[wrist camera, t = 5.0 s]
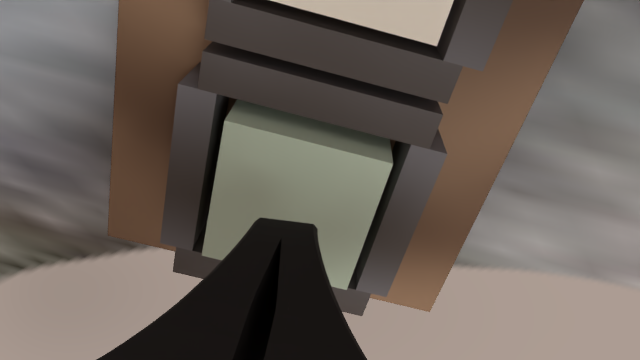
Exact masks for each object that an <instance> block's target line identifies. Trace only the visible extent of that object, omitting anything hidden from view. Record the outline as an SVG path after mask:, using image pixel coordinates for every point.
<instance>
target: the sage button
mask: <svg viewBox="0 0 640 360" xmlns="http://www.w3.org/2000/svg"><path fill="white" fill-rule="evenodd" d="M392 166H393V158H392V151H391V144H390V139H388V138H384V137H380V136H376V135H372V134H369V133H365V132H361V131H357V130H353V129H349V128H346V127H342V126H338V125H334V124H330V123H326V122H323V121H319V120H315V119H311V118H307V117H303V116H299V115H296V114H292V113H288V112H284V111H280V110H276V109H273V108H269V107H265V106H261V105H257V104H253V103H250V102H246V101H242V100H238V99H237V101H236V102H235V104H234V106H233V107H232V109H231V110H230V112H229V114H228V115H227V117H226V119H225V120H224V126H223V132H222V138H221V144H220V150H219V156H218V162H217V168H216V173H215V179H214V185H213V191H212V197H211V203H210V209H209V215H208V221H207V227H206V233H205V239H204V244H203V250H202V256H206V257H210V258H214V259H218V260H223V259H224V258H225V257H226V256H227V255H228V254H229V253H230V251H231V250H232V249H233V248H234V247H235V246H236V245H237V243H238V242H239V241H240V240H241V239H242V237H243V236H244V235H245V234H246V232H247V231H248V230H249V229H250V227H251V226H252V225H253V223H254V222H255V221H256V220H257V219H259V218H260V217H261V218H269V219H277V220H286V221H294V222H302V223H310V224H314V225H315V226H316V228H317V229H318V242H319V247H320V252H321V256H322V260H323V263H324V266H325V270H326V273H327V276H328V278H329V281H330V284H331V286H332V287H336V288H340V289H344V290H347V288H348V285H349V282H350V280H351V277H352V274H353V272H354V269H355V266H356V264H357V261H358V258H359V255H360V253H361V250H362V247H363V245H364V242H365V239H366V236H367V234H368V231H369V228H370V226H371V223H372V220H373V218H374V215H375V212H376V209H377V207H378V204H379V201H380V199H381V196H382V193H383V190H384V188H385V185H386V182H387V180H388V177H389V174H390V172H391V169H392Z"/></svg>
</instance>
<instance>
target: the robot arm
mask: <svg viewBox="0 0 640 360" xmlns="http://www.w3.org/2000/svg"><path fill="white" fill-rule="evenodd" d="M97 360H367V358H366V357H365V355H364V354H363V352H362V350H361V348H360V347H359V345H358V343H357V341H356V339H355V338H354V336H353V334H352V332H351V330H350V328H349V326H348V324H347V322H346V320H345V318H344V316H343V314H342V311H341V309H340V307H339V304H338V302H337V300H336V297H335V295H334V292H333V290H332V287H331V284H330V281H329V278H328V276H327V273H326V270H325V266H324V263H323V260H322V256H321V252H320V247H319V242H318V229H317V228H316V226H315V225H314V224H310V223H302V222H294V221H286V220H277V219H269V218H261V217H260V218H259V219H257V220H256V221H255V222H254V223H253V225H252V226H251V227H250V229H249V230H248V231H247V232H246V234H245V235H244V236H243V237H242V239H241V240H240V241H239V242H238V243H237V245H236V246H235V247H234V248H233V249H232V250H231V251H230V253H229V254H228V255H227V256H226V257H225V258H224V259H223V260H222V261H221V262H220V263H219V264H218V265H217V266H216V267H215V269H214V270H213V271H212V272H211V273H210V274H209V275H207V276H206V277H205V278H204V279H203V280H202V281H201V282H200V283H199V284H198V285H197V286H196V287H195V288H194V289H193V290H191V291H190V292H189V293H188V294H187V295H186V296H185V297H184V298H183V299H181V300H180V301H179V302H178V303H177V304H176V305H174V306H173V307H172V308H171V309H169V310H168V311H167V312H166V313H164V314H163V315H162V316H160V317H159V318H158V319H156V321H154V322H153V323H151V324H150V325H148V326H147V327H146V328H144V329H143V330H141V331H140V332H139V333H137V334H136V335H134V336H133V337H131V338H130V339H129V340H127V341H126V342H124V343H123V344H121V345H119V346H118V347H116V348H115V349H114V350H112V351H110V352H109V353H107V354H105V355H104V356H102V357H100V358H99V359H97Z"/></svg>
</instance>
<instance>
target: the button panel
mask: <svg viewBox="0 0 640 360" xmlns="http://www.w3.org/2000/svg"><path fill="white" fill-rule="evenodd" d="M583 1H584V0H454V1H453V4H452V7H451V9H450V12H449V15H448V18H447V20H446V23H445V26H444V28H443V31H442V34H441V36H440V39H439V42H438V45H437V46H434V45H430V44H427V43H423V42H419V41H416V40H412V39H408V38H405V37H401V36H398V35H394V34H390V33H387V32H383V31H379V30H376V29H372V28H368V27H365V26H361V25H358V24H354V23H350V22H347V21H343V20H339V19H336V18H332V17H328V16H325V15H321V14H318V13H314V12H310V11H307V10H303V9H299V8H296V7H292V6H288V5H285V4H281V3H278V2H274V1H270V0H119V11H118V32H117V52H116V73H115V94H114V115H113V135H112V156H111V177H110V198H109V218H108V236H112V237H117V238H121V239H125V240H129V241H133V242H138V243H142V244H146V245H150V246H154V247H159V248H163V249H167V250H171V251H175V259H174V267H173V272H176V273H181V274H185V275H189V276H194V277H198V278H202V279H204V278H205V277H206V276H207V275H209V274H210V273H211V272H212V271H213V270H214V269H215V267H216V266H217V265H218V264H219V263H220V262H221V261H222V260H218V259H214V258H210V257H206V256H202V250H203V244H204V239H205V233H206V227H207V221H208V215H209V209H210V203H211V197H212V191H213V185H214V179H215V173H216V168H217V162H218V156H219V150H220V144H221V138H222V132H223V126H224V120H225V119H226V117H227V115H228V114H229V112H230V110H231V109H232V107H233V106H234V104H235V102H236V101H237V99H238V100H242V101H246V102H250V103H253V104H257V105H261V106H265V107H269V108H273V109H276V110H280V111H284V112H288V113H292V114H296V115H299V116H303V117H307V118H311V119H315V120H319V121H323V122H326V123H330V124H334V125H338V126H342V127H346V128H349V129H353V130H357V131H361V132H365V133H369V134H372V135H376V136H380V137H384V138H388V139H390V144H391V151H392V158H393V166H392V169H391V172H390V174H389V177H388V180H387V182H386V185H385V188H384V190H383V193H382V196H381V199H380V201H379V204H378V207H377V209H376V212H375V215H374V218H373V220H372V223H371V226H370V228H369V231H368V234H367V236H366V239H365V242H364V245H363V247H362V250H361V253H360V255H359V258H358V261H357V264H356V266H355V269H354V272H353V274H352V277H351V280H350V282H349V285H348V288H347V290H344V289H340V288H336V287H332V286H331V287H332V290H333V292H334V295H335V297H336V300H337V302H338V304H339V307H340V309H341V311H342V312H347V313H351V314H355V315H360V316H362V315H363V312H364V310H365V308H366V305H367V302H368V300H369V298H373V299H377V300H382V301H386V302H390V303H394V304H399V305H403V306H407V307H411V308H415V309H419V310H424V311H428V312H430V310H431V308H432V306H433V304H434V302H435V300H436V298H437V296H438V294H439V292H440V290H441V288H442V286H443V284H444V282H445V280H446V278H447V276H448V274H449V272H450V270H451V268H452V266H453V264H454V262H455V260H456V258H457V256H458V254H459V252H460V250H461V248H462V246H463V244H464V242H465V240H466V238H467V236H468V233H469V231H470V229H471V227H472V225H473V223H474V221H475V219H476V217H477V215H478V213H479V211H480V209H481V207H482V205H483V203H484V201H485V199H486V197H487V195H488V193H489V191H490V189H491V187H492V185H493V183H494V181H495V179H496V177H497V175H498V173H499V171H500V169H501V167H502V165H503V163H504V161H505V159H506V157H507V155H508V153H509V151H510V149H511V147H512V145H513V142H514V140H515V138H516V136H517V134H518V132H519V130H520V128H521V126H522V124H523V122H524V120H525V118H526V116H527V114H528V112H529V110H530V108H531V106H532V104H533V102H534V100H535V98H536V96H537V94H538V92H539V90H540V88H541V86H542V84H543V82H544V80H545V78H546V76H547V74H548V72H549V70H550V68H551V66H552V64H553V62H554V60H555V58H556V56H557V54H558V51H559V49H560V47H561V45H562V43H563V41H564V39H565V37H566V35H567V33H568V31H569V29H570V27H571V25H572V23H573V21H574V19H575V17H576V15H577V13H578V11H579V9H580V7H581V5H582V3H583Z"/></svg>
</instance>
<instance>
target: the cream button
mask: <svg viewBox="0 0 640 360" xmlns="http://www.w3.org/2000/svg"><path fill="white" fill-rule="evenodd" d="M270 1H274V2H278V3H281V4H285V5H288V6H292V7H296V8H299V9H303V10H307V11H310V12H314V13H318V14H321V15H325V16H328V17H332V18H336V19H339V20H343V21H347V22H350V23H354V24H358V25H361V26H365V27H368V28H372V29H376V30H379V31H383V32H387V33H390V34H394V35H398V36H401V37H405V38H408V39H412V40H416V41H419V42H423V43H427V44H430V45H434V46H437V45H438V42H439V39H440V36H441V34H442V31H443V28H444V26H445V23H446V20H447V18H448V15H449V12H450V9H451V7H452V4H453V1H454V0H270Z"/></svg>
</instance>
